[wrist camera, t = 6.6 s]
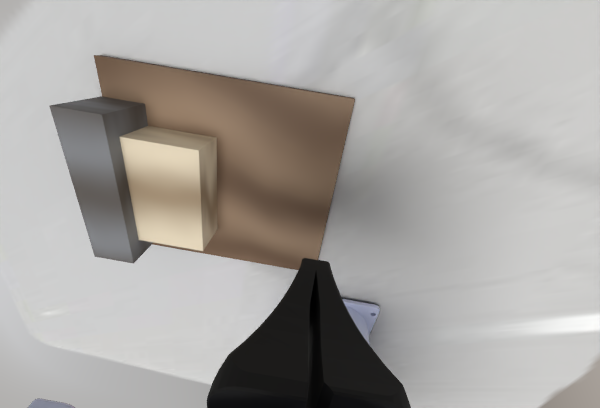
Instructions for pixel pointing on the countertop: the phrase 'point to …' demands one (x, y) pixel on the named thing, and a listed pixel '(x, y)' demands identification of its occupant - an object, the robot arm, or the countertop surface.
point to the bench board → (230, 157)
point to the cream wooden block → (172, 185)
